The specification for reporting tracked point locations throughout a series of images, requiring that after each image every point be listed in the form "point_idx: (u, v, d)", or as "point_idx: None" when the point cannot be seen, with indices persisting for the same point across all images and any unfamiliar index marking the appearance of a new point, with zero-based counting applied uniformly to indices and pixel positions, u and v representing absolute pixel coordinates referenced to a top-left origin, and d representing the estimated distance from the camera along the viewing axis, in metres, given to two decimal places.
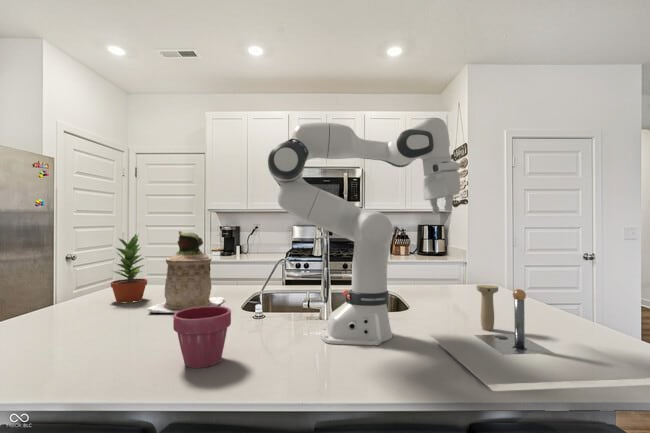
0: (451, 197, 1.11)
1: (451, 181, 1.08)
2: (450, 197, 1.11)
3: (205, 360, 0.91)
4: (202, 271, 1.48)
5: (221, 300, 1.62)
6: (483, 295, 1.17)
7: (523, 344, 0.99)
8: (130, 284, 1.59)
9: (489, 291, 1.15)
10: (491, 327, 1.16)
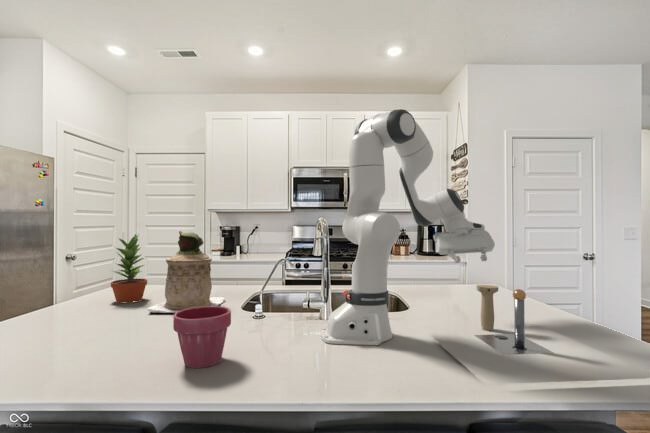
0: None
1: None
2: None
3: (205, 360, 0.91)
4: (202, 271, 1.48)
5: (221, 300, 1.62)
6: (483, 295, 1.17)
7: (523, 344, 0.99)
8: (130, 284, 1.59)
9: (489, 291, 1.15)
10: (491, 327, 1.16)
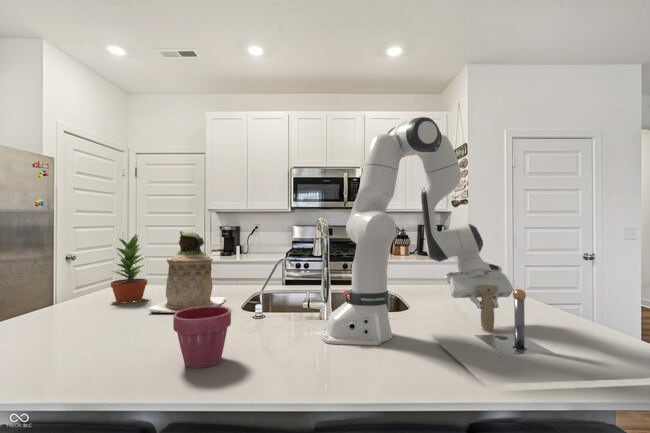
0: None
1: None
2: None
3: (205, 360, 0.91)
4: (203, 271, 1.49)
5: (222, 300, 1.62)
6: (483, 295, 1.17)
7: (523, 344, 0.99)
8: (130, 284, 1.59)
9: (489, 291, 1.15)
10: (491, 327, 1.16)
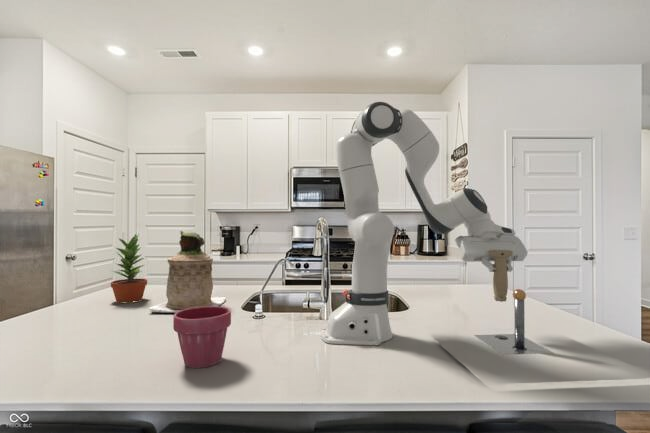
0: None
1: None
2: None
3: (205, 360, 0.91)
4: (204, 271, 1.49)
5: (222, 300, 1.62)
6: (496, 260, 1.09)
7: (523, 344, 0.99)
8: (130, 284, 1.59)
9: (502, 255, 1.07)
10: (504, 294, 1.08)
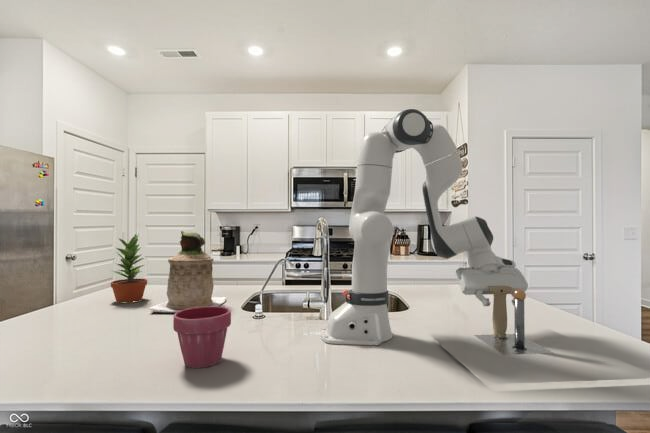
0: None
1: None
2: None
3: (205, 360, 0.91)
4: (204, 270, 1.49)
5: (223, 300, 1.62)
6: (495, 296, 1.09)
7: (523, 344, 0.99)
8: (130, 284, 1.59)
9: (501, 292, 1.08)
10: (504, 330, 1.08)
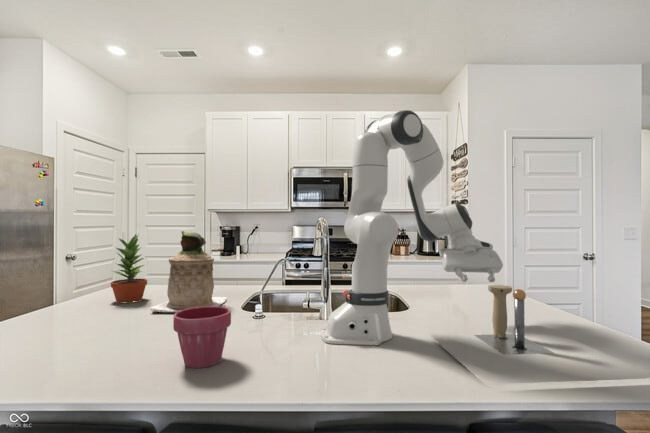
0: None
1: None
2: None
3: (205, 360, 0.91)
4: (205, 270, 1.49)
5: (223, 300, 1.63)
6: (495, 296, 1.09)
7: (523, 344, 0.99)
8: (130, 284, 1.59)
9: (501, 292, 1.08)
10: (504, 330, 1.08)
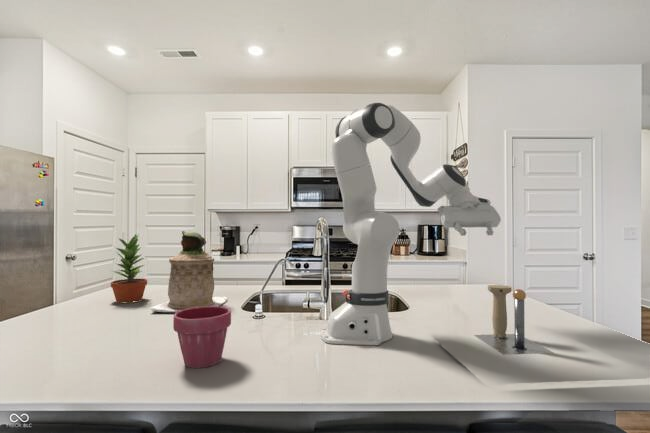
0: None
1: None
2: None
3: (205, 360, 0.91)
4: (205, 270, 1.49)
5: (224, 299, 1.63)
6: (495, 296, 1.09)
7: (523, 344, 0.99)
8: (130, 284, 1.59)
9: (501, 292, 1.08)
10: (504, 330, 1.08)
